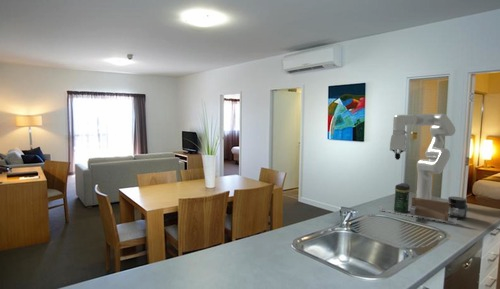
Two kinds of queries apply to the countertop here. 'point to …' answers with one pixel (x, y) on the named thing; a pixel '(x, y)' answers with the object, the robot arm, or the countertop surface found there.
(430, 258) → the countertop surface
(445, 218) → the walnut screen
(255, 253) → the countertop surface
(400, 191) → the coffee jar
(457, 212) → the supplement container
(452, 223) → the grey rail
